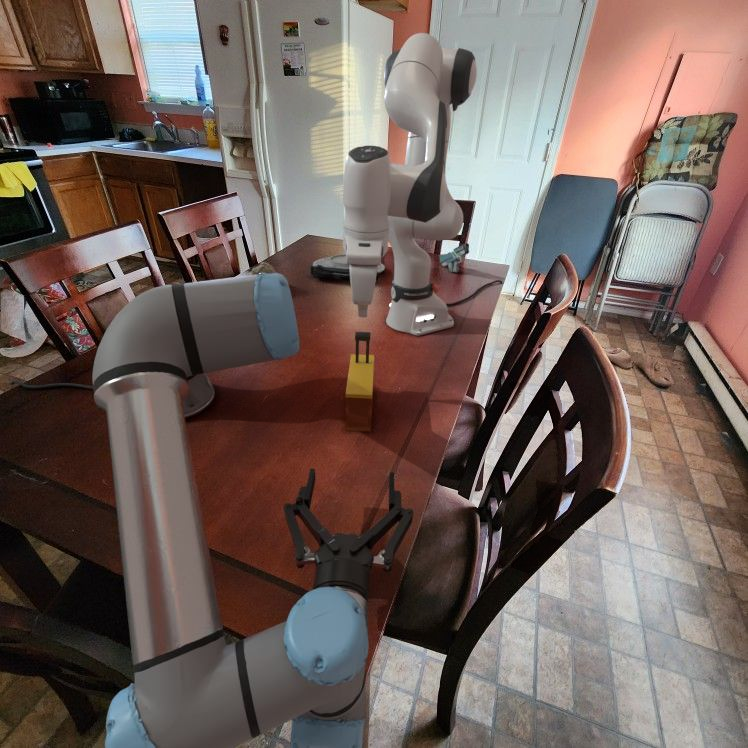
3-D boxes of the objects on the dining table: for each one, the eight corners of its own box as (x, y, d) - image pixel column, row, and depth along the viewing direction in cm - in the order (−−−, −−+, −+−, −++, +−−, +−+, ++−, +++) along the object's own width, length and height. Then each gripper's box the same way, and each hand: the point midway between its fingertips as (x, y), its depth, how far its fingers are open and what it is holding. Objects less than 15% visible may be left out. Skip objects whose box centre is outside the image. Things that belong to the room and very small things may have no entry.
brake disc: (371, 289, 156) (371, 277, 153) (298, 278, 162) (298, 266, 160) (392, 263, 182) (392, 252, 179) (328, 254, 188) (328, 243, 185)
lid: (351, 357, 100) (351, 324, 95) (374, 358, 100) (375, 325, 95) (345, 397, 87) (345, 361, 82) (372, 398, 87) (373, 363, 82)
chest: (350, 390, 105) (350, 359, 100) (372, 391, 105) (374, 360, 100) (345, 430, 93) (345, 397, 87) (370, 431, 93) (372, 399, 87)
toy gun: (467, 266, 164) (462, 241, 163) (442, 277, 182) (438, 255, 181) (474, 265, 165) (470, 240, 164) (449, 276, 183) (445, 254, 182)
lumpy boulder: (291, 289, 158) (274, 291, 144) (265, 297, 161) (246, 299, 146) (282, 260, 156) (264, 259, 141) (256, 268, 159) (236, 268, 144)
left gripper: (248, 610, 56) (282, 486, 73) (432, 619, 56) (421, 493, 73) (240, 580, 52) (278, 456, 69) (439, 590, 52) (426, 464, 69)
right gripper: (353, 225, 89) (352, 285, 97) (345, 258, 72) (345, 327, 80) (382, 227, 89) (379, 287, 97) (381, 259, 72) (377, 329, 80)
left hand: (352, 475), depth 71 cm, fingers open, 13 cm apart
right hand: (364, 305), depth 89 cm, fingers open, 8 cm apart
